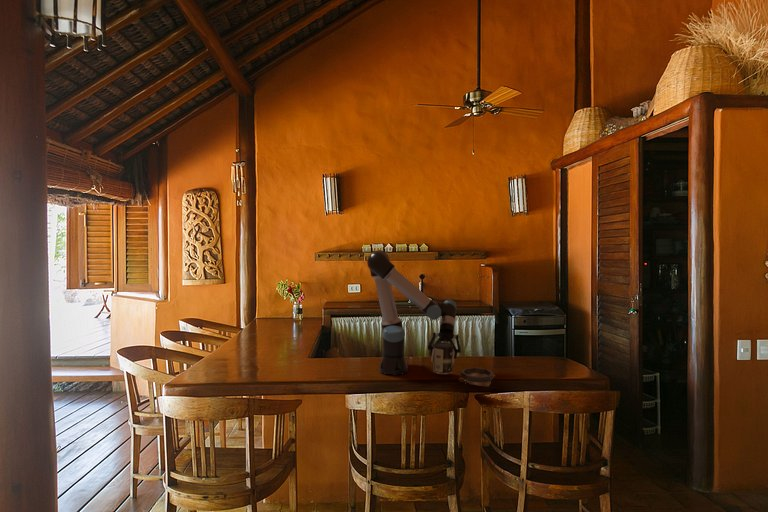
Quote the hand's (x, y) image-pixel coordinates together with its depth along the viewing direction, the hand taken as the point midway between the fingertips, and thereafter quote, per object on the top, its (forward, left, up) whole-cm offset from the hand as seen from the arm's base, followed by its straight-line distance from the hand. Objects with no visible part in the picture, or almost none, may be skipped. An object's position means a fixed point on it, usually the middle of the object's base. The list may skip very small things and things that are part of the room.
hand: (442, 362), depth 246 cm
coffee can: (-1, +3, -6) cm, 6 cm away
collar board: (+18, +3, -8) cm, 19 cm away
